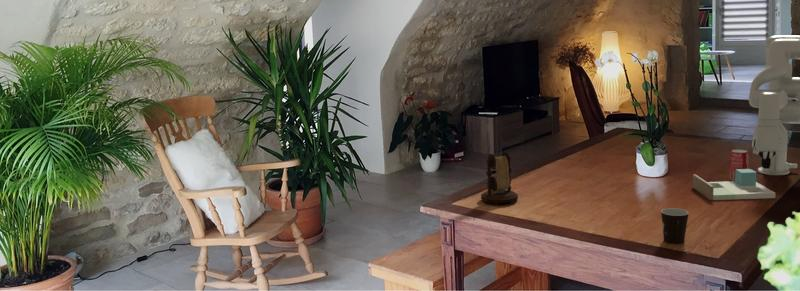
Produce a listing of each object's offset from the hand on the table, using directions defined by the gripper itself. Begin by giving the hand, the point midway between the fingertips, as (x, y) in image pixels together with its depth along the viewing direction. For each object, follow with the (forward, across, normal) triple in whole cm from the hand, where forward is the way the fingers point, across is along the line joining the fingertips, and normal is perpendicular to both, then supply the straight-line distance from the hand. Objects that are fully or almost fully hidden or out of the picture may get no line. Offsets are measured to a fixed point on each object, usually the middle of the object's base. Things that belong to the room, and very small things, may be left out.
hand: (765, 167), depth 321 cm
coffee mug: (+12, +57, +62) cm, 85 cm away
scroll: (+11, +108, +5) cm, 109 cm away
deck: (+9, +14, +4) cm, 17 cm away
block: (+7, +8, -1) cm, 10 cm away
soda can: (+8, +5, -14) cm, 17 cm away
